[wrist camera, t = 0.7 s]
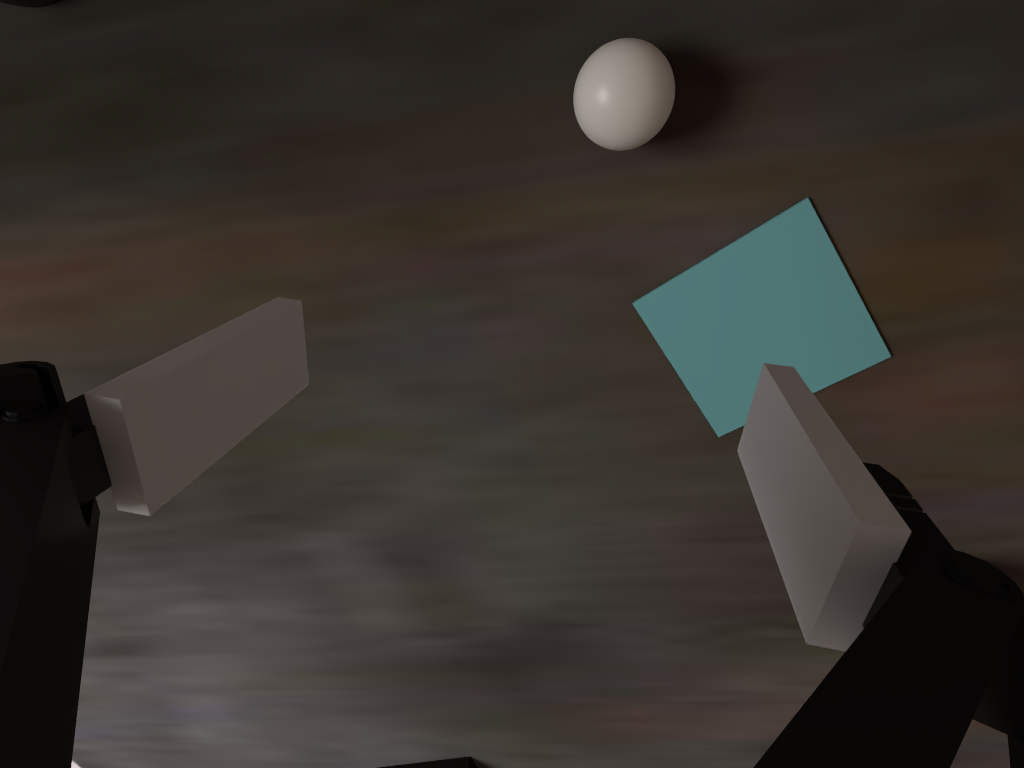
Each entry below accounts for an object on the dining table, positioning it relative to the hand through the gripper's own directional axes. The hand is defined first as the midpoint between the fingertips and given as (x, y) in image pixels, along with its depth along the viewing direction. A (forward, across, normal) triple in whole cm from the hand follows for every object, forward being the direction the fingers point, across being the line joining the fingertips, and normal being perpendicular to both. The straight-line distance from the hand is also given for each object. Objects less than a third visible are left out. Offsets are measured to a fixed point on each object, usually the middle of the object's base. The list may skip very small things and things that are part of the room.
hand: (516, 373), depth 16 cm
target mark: (+23, +13, -5) cm, 27 cm away
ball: (+21, +2, +8) cm, 22 cm away
